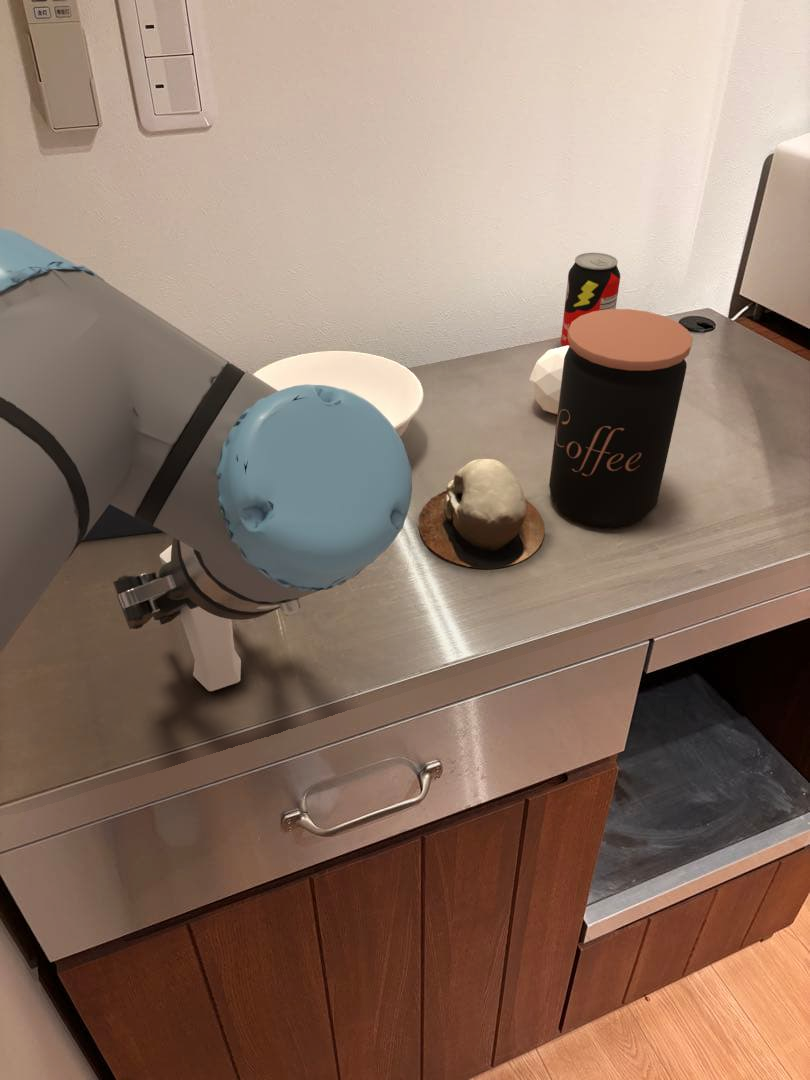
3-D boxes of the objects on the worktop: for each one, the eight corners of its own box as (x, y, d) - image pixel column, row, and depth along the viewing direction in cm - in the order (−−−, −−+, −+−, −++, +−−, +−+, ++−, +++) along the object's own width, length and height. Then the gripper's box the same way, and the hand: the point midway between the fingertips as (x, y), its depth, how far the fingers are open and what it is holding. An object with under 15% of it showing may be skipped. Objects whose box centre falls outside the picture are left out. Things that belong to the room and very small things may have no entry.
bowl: (223, 420, 98) (215, 370, 94) (383, 386, 104) (381, 337, 100) (272, 515, 84) (264, 460, 80) (453, 469, 90) (455, 417, 86)
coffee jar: (526, 500, 86) (542, 333, 74) (590, 459, 91) (614, 298, 80) (614, 548, 80) (647, 374, 68) (677, 501, 85) (717, 333, 74)
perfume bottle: (260, 672, 68) (236, 521, 58) (213, 701, 65) (180, 549, 56) (227, 642, 70) (199, 493, 61) (181, 669, 68) (144, 518, 58)
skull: (394, 494, 85) (463, 417, 81) (466, 538, 90) (533, 468, 87) (426, 567, 75) (505, 483, 72) (504, 611, 81) (580, 535, 78)
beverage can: (587, 336, 115) (599, 247, 107) (618, 354, 111) (633, 263, 103) (550, 346, 112) (559, 256, 105) (580, 365, 108) (592, 273, 101)
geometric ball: (540, 428, 102) (509, 369, 100) (597, 394, 102) (567, 335, 100) (562, 430, 94) (528, 366, 93) (623, 393, 95) (590, 329, 93)
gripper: (111, 673, 42) (96, 683, 63) (417, 554, 49) (310, 599, 70) (57, 531, 42) (60, 589, 63) (369, 433, 49) (278, 515, 71)
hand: (192, 594), depth 67 cm, fingers closed on perfume bottle, 5 cm apart
